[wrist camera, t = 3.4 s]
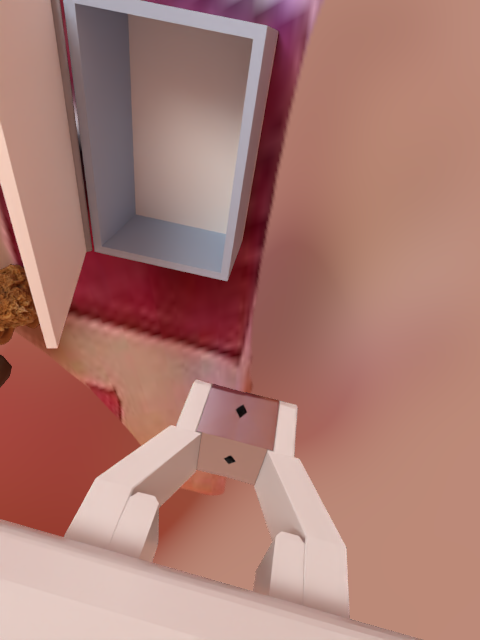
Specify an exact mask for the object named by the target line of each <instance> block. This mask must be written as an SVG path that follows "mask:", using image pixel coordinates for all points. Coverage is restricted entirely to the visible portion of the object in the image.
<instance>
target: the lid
mask: <svg viewBox="0 0 480 640" xmlns="http://www.w3.org/2000/svg"><path fill="white" fill-rule="evenodd" d="M0 183H1V187H2V191H3V194H4V198H5V201H6V205H7V208H8V212H9V215H10V219H11V223H12V226H13V230H14V233H15V237H16V240H17V244H18V248H19V251H20V255H21V258H22V262H23V265H24V269H25V273H26V276H27V280H28V283H29V287H30V290H31V294H32V297H33V301H34V305H35V308H36V312H37V315H38V319H39V322H40V326H41V330H42V333H43V337H44V340H45V344H46V347H47V348H58V345H59V342H60V338H61V335H62V332H63V328H64V325H65V322H66V318H67V315H68V312H69V308H70V305H71V301H72V298H73V295H74V291H75V288H76V285H77V281H78V278H79V275H80V271H81V268H82V265H83V261H84V258H85V255H86V251H87V252H88V251H92V243H91V236H90V228H89V220H88V213H87V205H86V197H85V190H84V182H83V174H82V167H81V159H80V151H79V144H78V136H77V128H76V121H75V113H74V106H73V98H72V90H71V83H70V75H69V67H68V60H67V52H66V44H65V37H64V29H63V21H62V14H61V6H60V0H0Z"/></svg>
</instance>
